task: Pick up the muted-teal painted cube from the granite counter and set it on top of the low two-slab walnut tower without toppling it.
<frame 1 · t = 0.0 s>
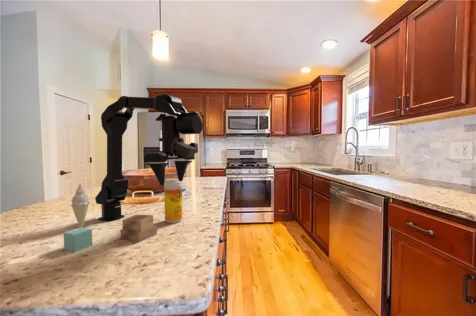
hand: (172, 183, 78), 15 cm above the countertop, fingers open, 9 cm apart
slab upper: (138, 227, 71), point 3 cm above the countertop, touching slab lower
slab lower: (139, 237, 71), on the countertop, touching slab upper
teal cube: (78, 247, 63), on the countertop
ice cream cone: (81, 229, 78), on the countertop
beer can: (173, 221, 85), on the countertop
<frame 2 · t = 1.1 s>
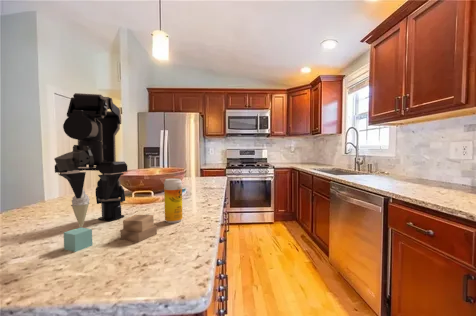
hand: (92, 199, 64), 12 cm above the countertop, fingers open, 9 cm apart
nothing on the countertop moved.
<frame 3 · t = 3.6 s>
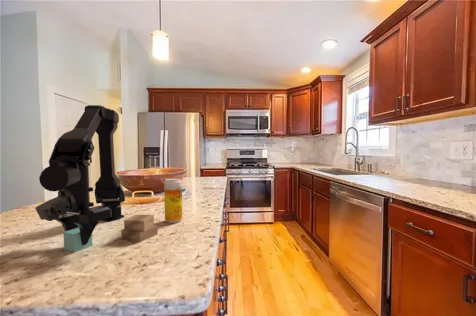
hand: (78, 243, 63), 1 cm above the countertop, fingers closed on teal cube, 4 cm apart
slab upper: (139, 227, 71), point 3 cm above the countertop
slab lower: (140, 237, 71), on the countertop
teal cube: (78, 247, 63), on the countertop, touching gripper
everything else where it was.
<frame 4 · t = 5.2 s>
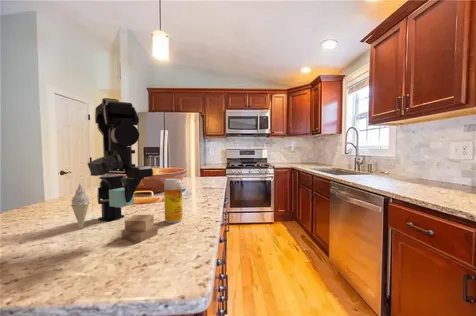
hand: (122, 201, 68), 11 cm above the countertop, fingers closed on teal cube, 4 cm apart
slab upper: (139, 227, 71), point 3 cm above the countertop, touching slab lower
slab lower: (140, 237, 71), on the countertop, touching slab upper
teal cube: (121, 205, 68), point 10 cm above the countertop, touching gripper
everything else where it was.
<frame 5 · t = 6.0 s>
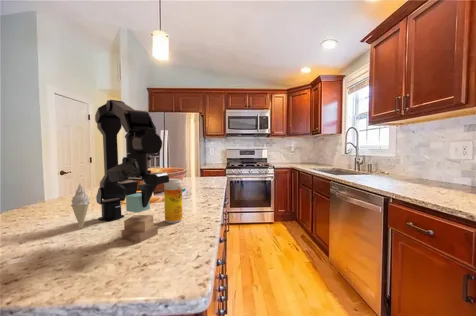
hand: (138, 206, 70), 9 cm above the countertop, fingers closed on teal cube, 4 cm apart
teal cube: (138, 210, 70), point 8 cm above the countertop, touching gripper
everything else where it was.
when the fingers open (8 cm above the countertop, at t = 6.9 s): teal cube drops 1 cm, resting on slab upper.
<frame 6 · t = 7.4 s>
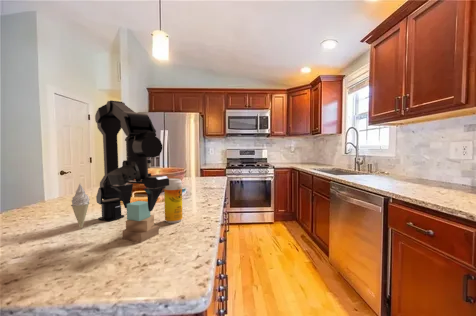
hand: (138, 209, 70), 8 cm above the countertop, fingers open, 9 cm apart
slab upper: (140, 227, 71), point 2 cm above the countertop, touching slab lower, teal cube
teal cube: (138, 218, 70), point 6 cm above the countertop, touching slab upper
everything else where it was.
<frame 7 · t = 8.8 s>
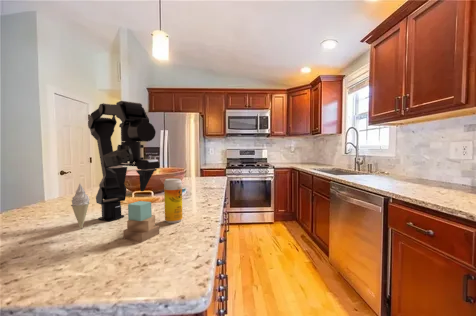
hand: (131, 189, 77), 13 cm above the countertop, fingers open, 9 cm apart
nothing on the countertop moved.
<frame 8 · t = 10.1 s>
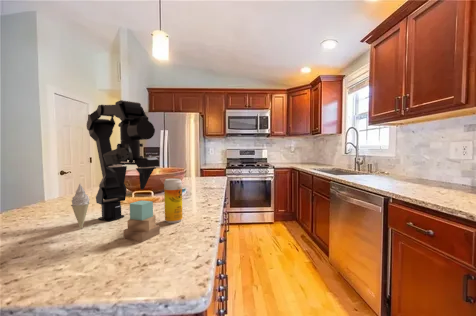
hand: (131, 188, 78), 13 cm above the countertop, fingers open, 9 cm apart
nothing on the countertop moved.
at the end: teal cube 0.0 cm off-centre on the slab lower, point 6.0 cm above the slab lower's base; slab upper tilted 0°; teal cube tilted 1° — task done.
